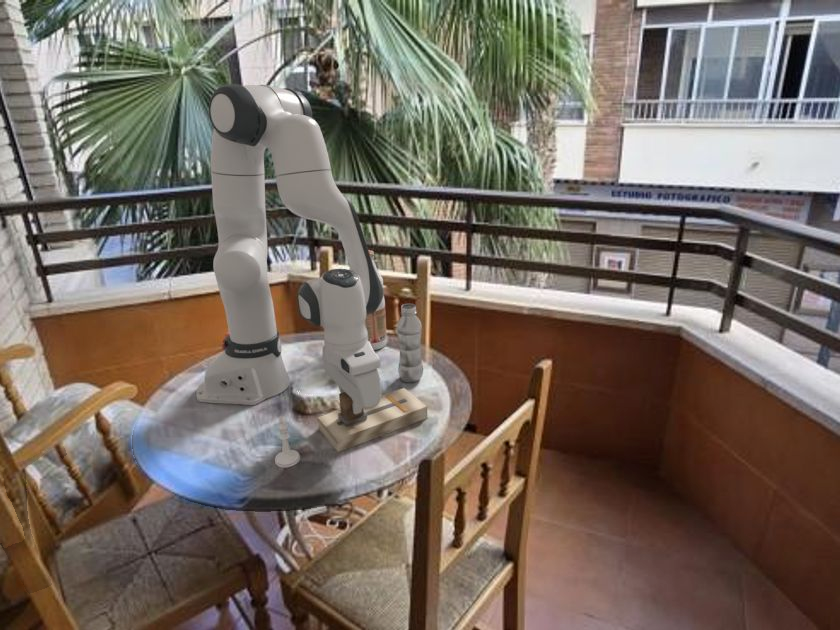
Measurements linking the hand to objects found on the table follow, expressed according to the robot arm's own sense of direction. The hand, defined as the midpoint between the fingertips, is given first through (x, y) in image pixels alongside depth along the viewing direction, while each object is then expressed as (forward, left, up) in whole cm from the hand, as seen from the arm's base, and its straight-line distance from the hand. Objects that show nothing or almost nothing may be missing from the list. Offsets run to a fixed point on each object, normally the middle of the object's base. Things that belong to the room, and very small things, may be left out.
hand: (351, 407), depth 115 cm
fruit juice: (+2, +44, -6) cm, 44 cm away
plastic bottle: (+13, +22, -6) cm, 26 cm away
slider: (0, 0, -3) cm, 3 cm away
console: (+4, +2, -6) cm, 8 cm away
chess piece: (-13, -9, -6) cm, 17 cm away
